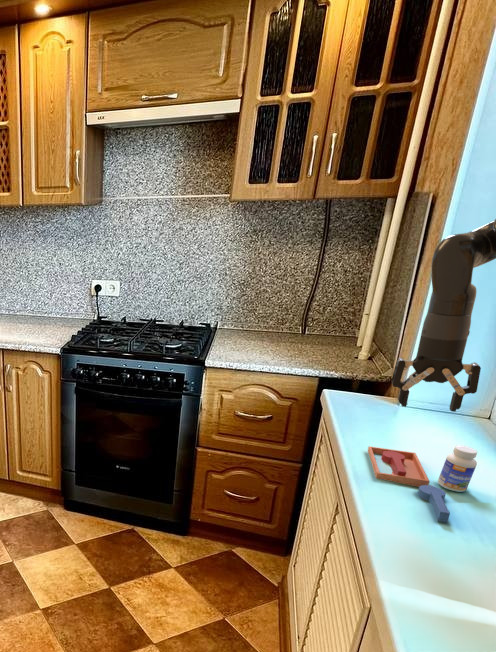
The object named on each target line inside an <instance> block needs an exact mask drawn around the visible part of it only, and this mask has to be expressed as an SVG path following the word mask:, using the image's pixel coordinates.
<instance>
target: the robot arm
mask: <svg viewBox="0 0 496 652" xmlns="http://www.w3.org/2000/svg"><path fill="white" fill-rule="evenodd" d="M494 260H496V218H495V219H494V220H493V221H491V222H488V223H485V224H484V225H482V226H480V227H478V228H476V229H473V230H471V231H468V232H463V233H455V234H451V235H448V236H447V237H445V238H443V239H442V240H441V241H440V242H439V243H438V244H437V246H436V248H435V249H434V252H433V255H432V259H431V286H432V287H431V288H432V292H431V294H430V299H429V303H428V308H427V312H426V315H425V317H424V320H423V323H422V329H421V333H420V338H419V343H418V347H417V352H416V356H415V358H414V359H413V360H412V359H411V360H410V359H404V358H403V357H398V358H397V359H396V363H395V366H394V370H393V373H392V377H391V380H390V382H391V385H392V387H394V388H398V389H399V393H398V398H397V400H398V403H399V404H400V406H401V407H402V408H406V407H407V404H408V400H409V395H410V390H409V389H411V388H412V387H414V386H415V385H418V384H419V383H421V381H424V382H425V383H434V382H435V383H437V384H445V383H447V382H448V383H449V384H450V385H451V387H452V388H453V390H454V391H453V392H452V396H451V400H450V404H449V410H450V412H453V413H456V412H457V410H460V409H461V407H462V403H463V399H464V396H466V395H468V394H469V395H470V394H476V393H477V391H478V386H479V380H480V376H481V369H482V367H481V366H480V364H478V363H477V362H471V363H463V358H464V354H465V351H466V350H465V349H466V346H467V342H468V337H469V336H470V333H471V332H470V329H471V324H472V316H473V315H472V314H473V310H474V306H475V302H476V298H477V287H476V286H475V285H474V284H473V283H472V281H473V272H474V268H478V267H480V266H482V265H485V264H487V263H490V262H492V261H494ZM410 367H412V368H413V370H414V372H413V373H411V374H410V375H409V376H408V377H407V378H405V380H403V381H402V377H403V373H404V371H406V370H408V369H409V368H410ZM463 370H464V372H465V373H466V374H467V375H468V376H467V382H466V385H464V386H462V385H461V384H460V383H459V381H458V380H457V378H456V377H455V376H457V375H458V374H459V373H461V372H462V371H463Z"/></svg>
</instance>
